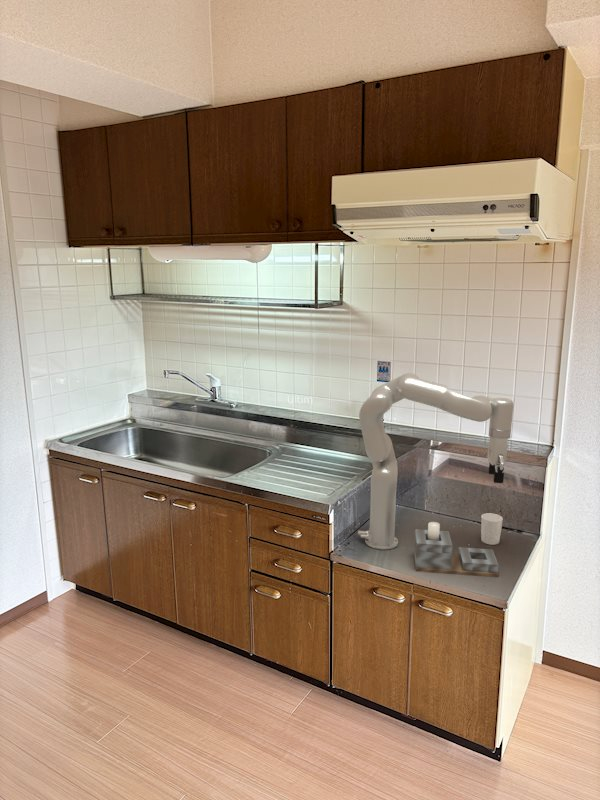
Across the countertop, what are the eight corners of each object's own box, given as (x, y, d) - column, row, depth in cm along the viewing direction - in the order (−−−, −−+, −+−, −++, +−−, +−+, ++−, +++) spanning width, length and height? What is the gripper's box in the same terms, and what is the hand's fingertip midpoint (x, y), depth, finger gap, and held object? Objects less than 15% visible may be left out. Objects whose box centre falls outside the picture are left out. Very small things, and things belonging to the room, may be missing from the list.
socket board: (415, 571, 214) (417, 544, 212) (413, 553, 228) (415, 528, 226) (498, 576, 210) (500, 550, 208) (491, 558, 224) (493, 532, 222)
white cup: (484, 535, 244) (486, 511, 242) (503, 540, 239) (505, 516, 237) (476, 541, 238) (478, 517, 236) (496, 547, 233) (498, 523, 231)
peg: (427, 547, 217) (428, 526, 215) (426, 542, 221) (427, 521, 219) (439, 547, 216) (440, 526, 215) (438, 542, 220) (439, 522, 219)
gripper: (484, 426, 227) (480, 470, 231) (493, 438, 211) (489, 485, 214) (505, 427, 227) (501, 471, 230) (516, 439, 210) (511, 487, 213)
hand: (495, 478), depth 222 cm, fingers open, 9 cm apart
